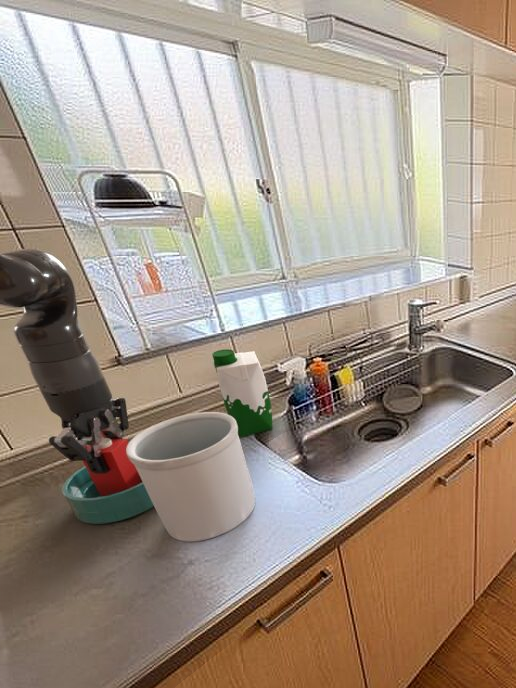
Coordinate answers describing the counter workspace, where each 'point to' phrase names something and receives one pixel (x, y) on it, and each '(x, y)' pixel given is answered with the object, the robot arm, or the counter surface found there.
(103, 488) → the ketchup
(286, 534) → the counter surface
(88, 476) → the teal bowl
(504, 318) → the counter surface
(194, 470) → the utensil holder
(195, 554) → the counter surface
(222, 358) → the milk carton
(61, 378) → the robot arm
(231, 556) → the counter surface
